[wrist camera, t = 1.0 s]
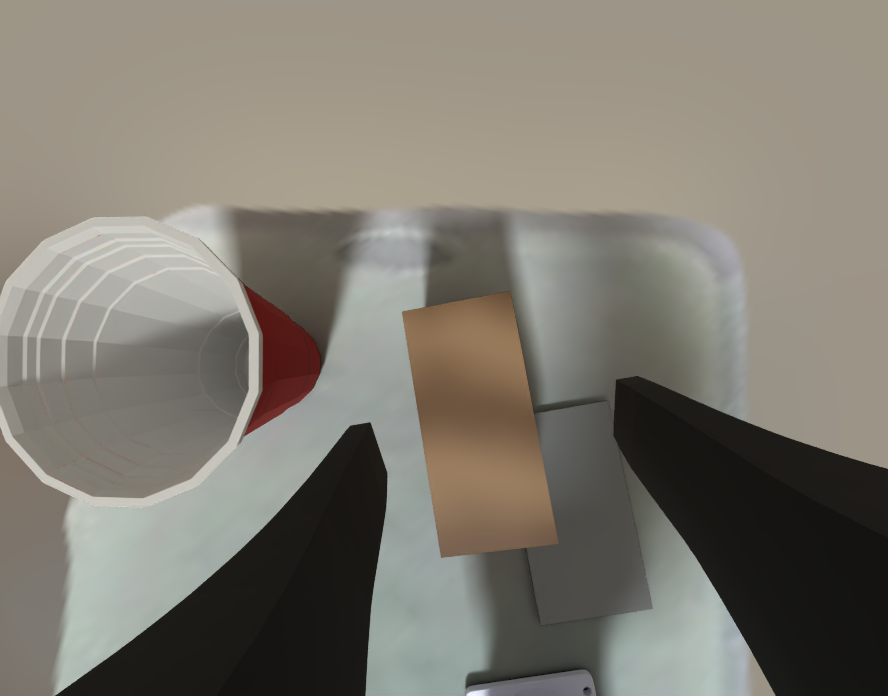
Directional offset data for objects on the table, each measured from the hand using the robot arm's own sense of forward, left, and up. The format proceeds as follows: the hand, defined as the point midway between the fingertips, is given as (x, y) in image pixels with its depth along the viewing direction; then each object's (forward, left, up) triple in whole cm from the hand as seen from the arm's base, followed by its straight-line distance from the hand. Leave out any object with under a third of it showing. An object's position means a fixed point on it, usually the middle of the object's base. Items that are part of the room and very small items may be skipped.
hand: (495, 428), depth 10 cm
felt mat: (-8, -5, -13) cm, 16 cm away
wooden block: (-1, 0, -13) cm, 13 cm away
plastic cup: (+4, +13, -14) cm, 19 cm away
